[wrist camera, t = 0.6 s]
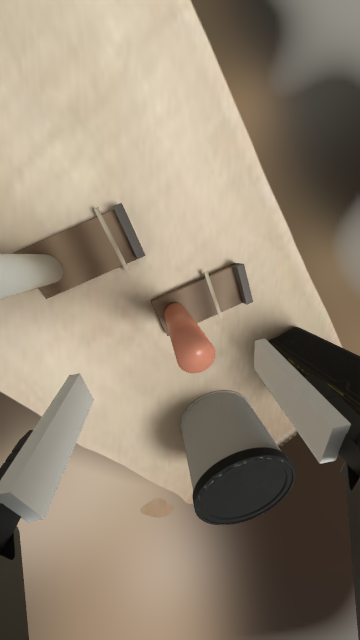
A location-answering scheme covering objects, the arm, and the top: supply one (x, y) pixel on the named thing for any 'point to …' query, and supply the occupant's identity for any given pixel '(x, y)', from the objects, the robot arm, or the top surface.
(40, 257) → the grey plug
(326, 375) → the voltmeter
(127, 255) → the brown wooden board
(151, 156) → the top surface
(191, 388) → the top surface
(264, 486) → the container
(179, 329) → the terracotta plug
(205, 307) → the brown base
